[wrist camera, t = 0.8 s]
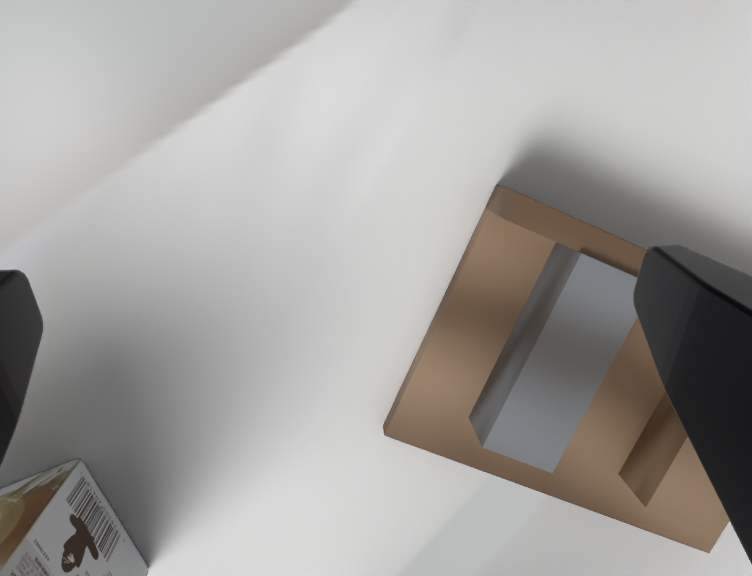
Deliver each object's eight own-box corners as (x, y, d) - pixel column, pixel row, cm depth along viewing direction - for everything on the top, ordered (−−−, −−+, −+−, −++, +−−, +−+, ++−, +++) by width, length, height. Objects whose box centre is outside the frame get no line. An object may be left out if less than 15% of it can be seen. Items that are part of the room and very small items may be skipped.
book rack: (699, 542, 30) (743, 592, 26) (382, 426, 27) (390, 467, 24) (827, 332, 27) (893, 360, 24) (496, 184, 25) (520, 193, 22)
